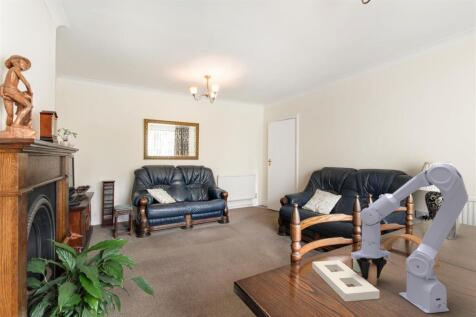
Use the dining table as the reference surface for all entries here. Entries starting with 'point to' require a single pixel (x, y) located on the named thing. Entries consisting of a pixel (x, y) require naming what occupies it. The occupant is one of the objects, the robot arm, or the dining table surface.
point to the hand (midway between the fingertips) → (370, 277)
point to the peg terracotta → (372, 274)
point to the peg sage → (356, 266)
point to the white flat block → (345, 281)
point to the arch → (412, 238)
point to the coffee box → (453, 230)
